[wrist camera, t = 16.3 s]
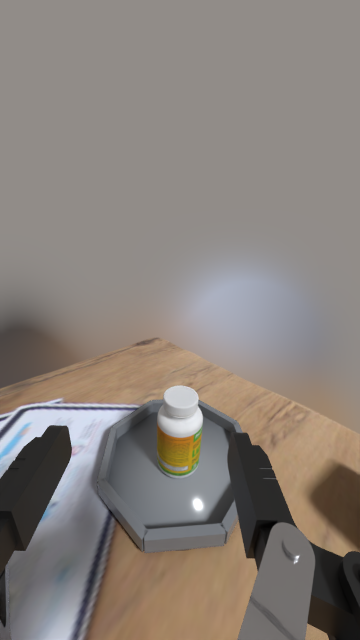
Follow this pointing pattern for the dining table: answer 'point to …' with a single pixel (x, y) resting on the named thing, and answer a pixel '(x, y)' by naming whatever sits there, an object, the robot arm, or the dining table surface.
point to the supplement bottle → (179, 432)
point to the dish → (169, 484)
